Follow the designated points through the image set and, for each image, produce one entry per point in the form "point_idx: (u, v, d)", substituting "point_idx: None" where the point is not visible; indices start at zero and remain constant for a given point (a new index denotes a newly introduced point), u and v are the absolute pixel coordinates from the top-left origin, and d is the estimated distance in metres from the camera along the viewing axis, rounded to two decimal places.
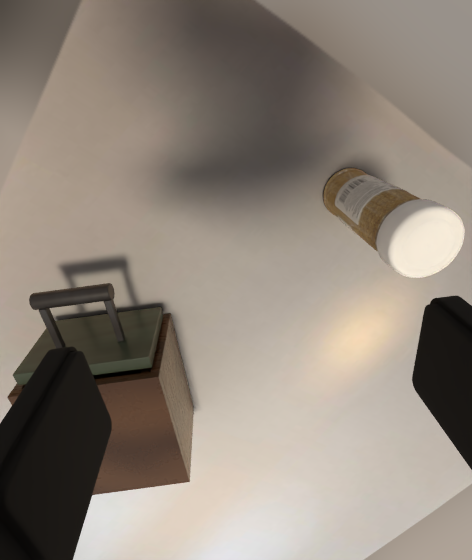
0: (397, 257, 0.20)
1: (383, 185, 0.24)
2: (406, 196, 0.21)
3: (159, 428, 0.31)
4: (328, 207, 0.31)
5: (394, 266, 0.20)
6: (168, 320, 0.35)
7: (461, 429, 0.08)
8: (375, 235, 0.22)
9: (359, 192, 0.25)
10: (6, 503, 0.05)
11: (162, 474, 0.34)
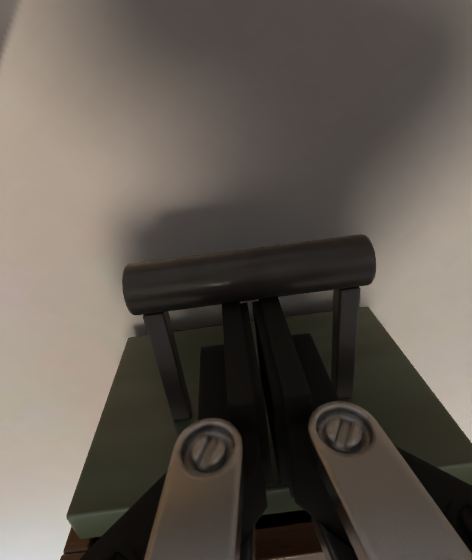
0: None
1: None
2: None
3: None
4: None
5: None
6: None
7: (268, 411, 0.09)
8: None
9: None
10: None
11: None
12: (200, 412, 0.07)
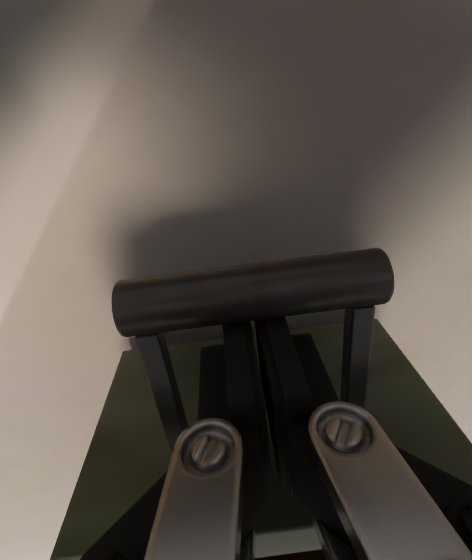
0: None
1: None
2: None
3: None
4: None
5: None
6: None
7: (268, 411, 0.09)
8: None
9: None
10: None
11: None
12: (200, 412, 0.07)
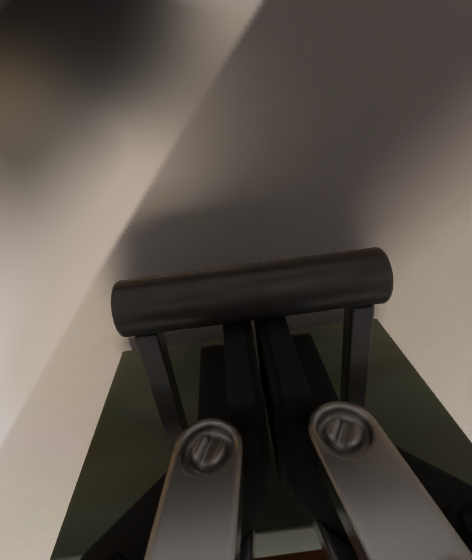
0: None
1: None
2: None
3: None
4: None
5: None
6: None
7: (268, 411, 0.09)
8: None
9: None
10: None
11: None
12: (200, 412, 0.07)
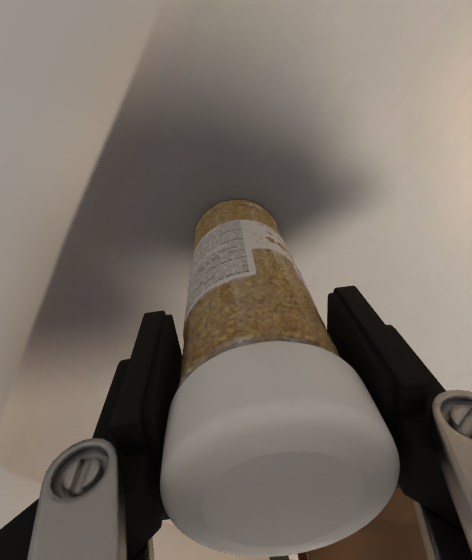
0: (312, 546, 0.07)
1: None
2: None
3: None
4: None
5: None
6: None
7: None
8: None
9: None
10: (153, 425, 0.06)
11: None
12: (97, 430, 0.07)
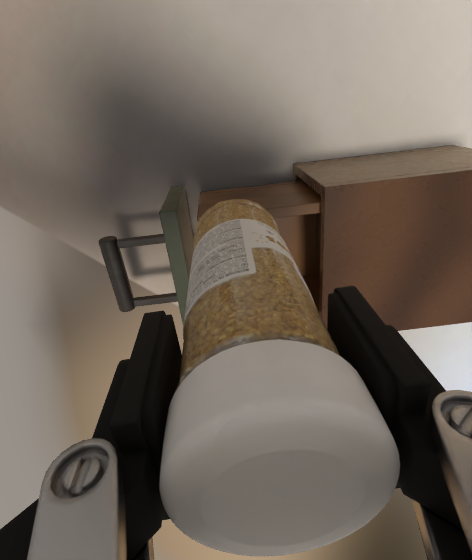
0: (312, 545, 0.07)
1: None
2: None
3: (414, 195, 0.23)
4: None
5: None
6: (296, 167, 0.29)
7: None
8: None
9: None
10: (153, 425, 0.06)
11: None
12: (97, 430, 0.07)
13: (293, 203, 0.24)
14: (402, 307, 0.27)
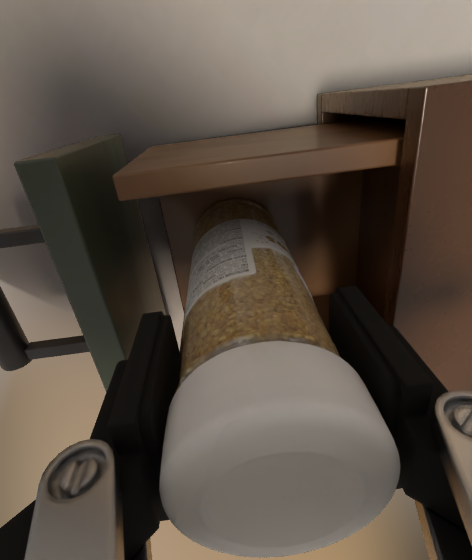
0: (312, 546, 0.07)
1: None
2: None
3: None
4: None
5: None
6: (325, 95, 0.16)
7: None
8: None
9: None
10: (151, 426, 0.06)
11: None
12: (95, 431, 0.07)
13: (338, 143, 0.10)
14: None
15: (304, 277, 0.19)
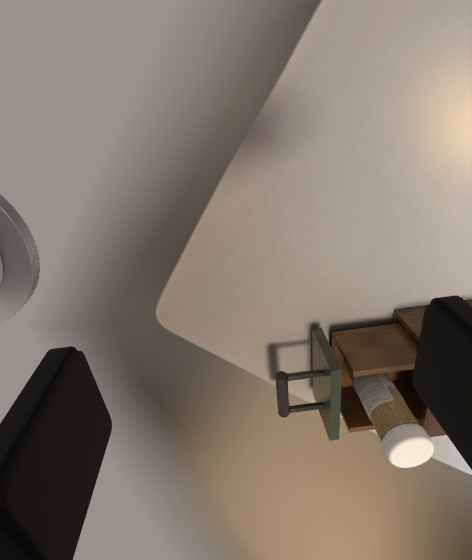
0: (415, 465, 0.34)
1: (365, 407, 0.38)
2: (377, 429, 0.36)
3: None
4: None
5: (420, 463, 0.34)
6: (399, 316, 0.43)
7: (461, 429, 0.08)
8: None
9: None
10: (6, 503, 0.05)
11: None
12: None
13: (413, 360, 0.37)
14: None
15: None
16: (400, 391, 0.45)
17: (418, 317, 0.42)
